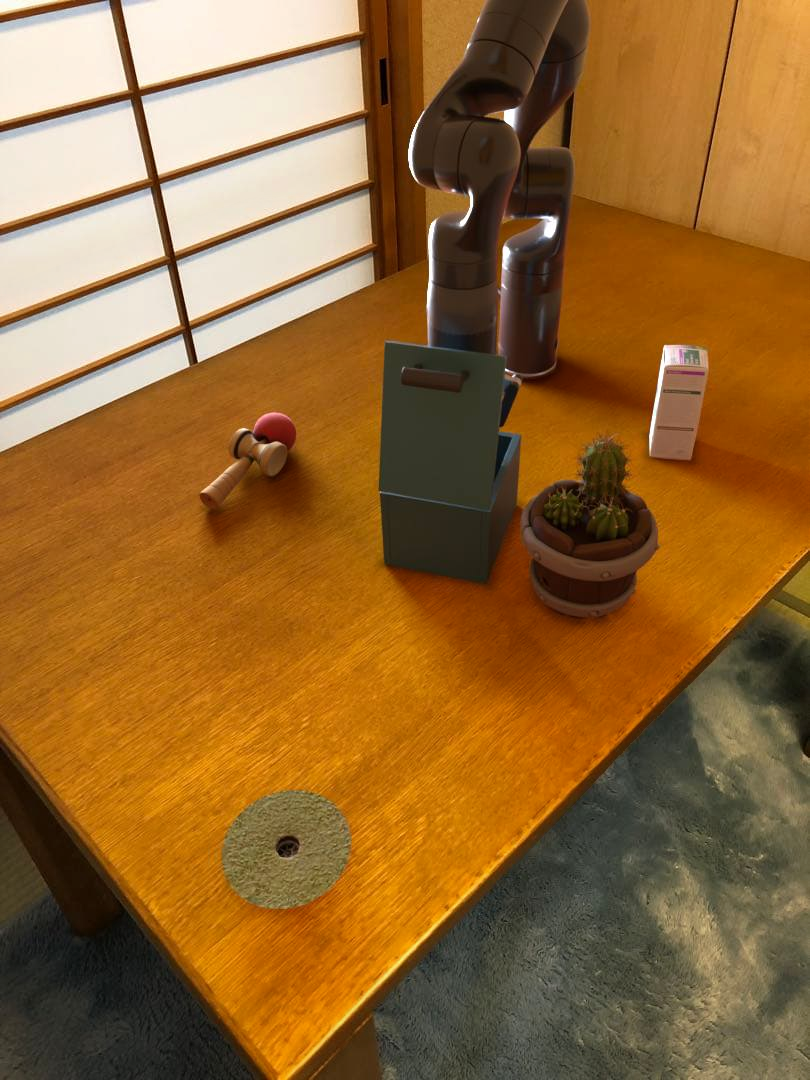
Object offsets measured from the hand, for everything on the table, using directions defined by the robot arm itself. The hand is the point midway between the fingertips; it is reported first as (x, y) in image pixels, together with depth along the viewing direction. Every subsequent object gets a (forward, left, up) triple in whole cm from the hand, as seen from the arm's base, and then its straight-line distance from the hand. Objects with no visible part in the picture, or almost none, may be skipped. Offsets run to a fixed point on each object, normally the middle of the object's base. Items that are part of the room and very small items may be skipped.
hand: (460, 446), depth 105 cm
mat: (+44, -23, -11) cm, 51 cm away
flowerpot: (+15, +11, -11) cm, 22 cm away
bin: (+3, -1, -11) cm, 12 cm away
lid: (+7, -4, +8) cm, 12 cm away
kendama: (-14, -26, -11) cm, 32 cm away
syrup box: (-10, +32, -11) cm, 35 cm away
